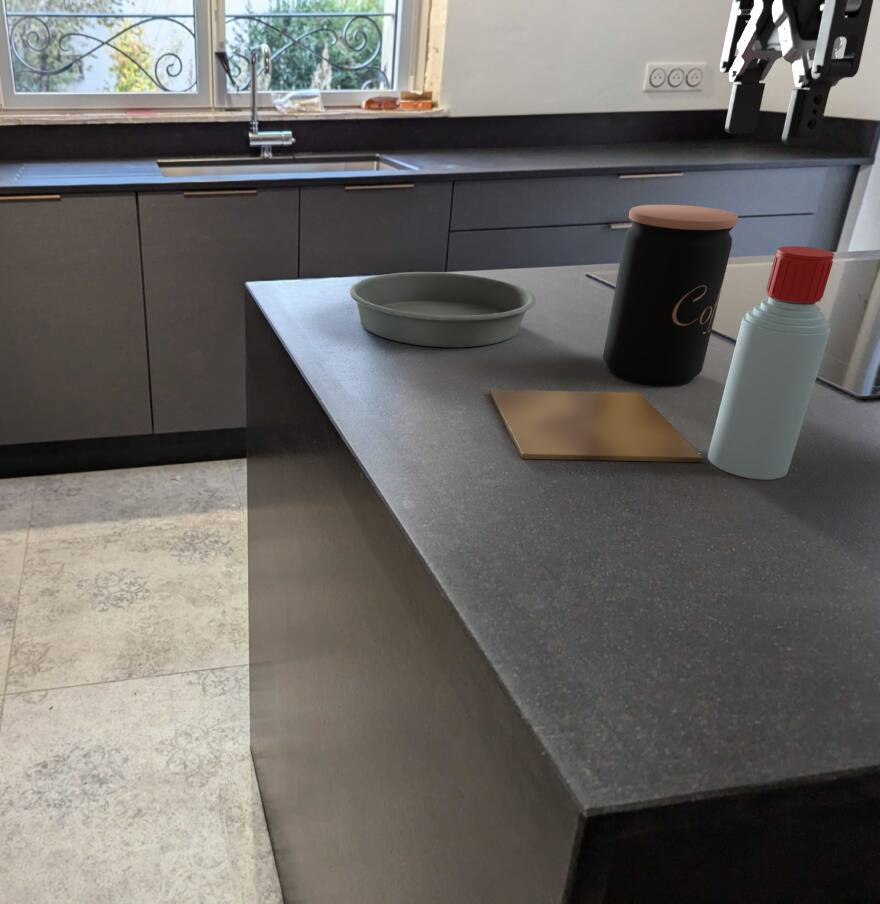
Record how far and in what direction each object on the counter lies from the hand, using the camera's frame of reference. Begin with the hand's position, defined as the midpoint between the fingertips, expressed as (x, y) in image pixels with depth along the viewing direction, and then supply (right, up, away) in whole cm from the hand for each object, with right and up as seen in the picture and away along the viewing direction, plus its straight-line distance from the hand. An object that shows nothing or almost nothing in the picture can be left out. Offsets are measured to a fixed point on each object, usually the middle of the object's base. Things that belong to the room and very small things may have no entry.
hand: (766, 138), depth 63 cm
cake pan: (-16, -7, +49) cm, 52 cm away
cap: (+4, -11, +4) cm, 13 cm away
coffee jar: (+5, -15, +32) cm, 36 cm away
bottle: (+4, -25, +10) cm, 28 cm away
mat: (-7, -22, +18) cm, 29 cm away
